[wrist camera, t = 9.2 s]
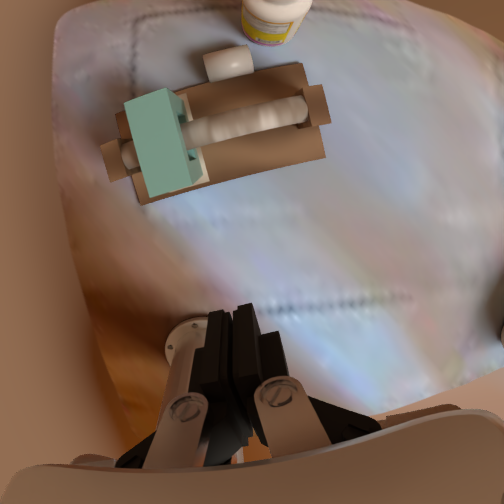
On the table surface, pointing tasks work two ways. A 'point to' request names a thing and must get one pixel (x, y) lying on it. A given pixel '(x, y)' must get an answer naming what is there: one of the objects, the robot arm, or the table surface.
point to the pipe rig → (237, 128)
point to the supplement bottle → (273, 20)
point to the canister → (502, 336)
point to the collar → (162, 142)
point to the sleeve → (228, 63)
